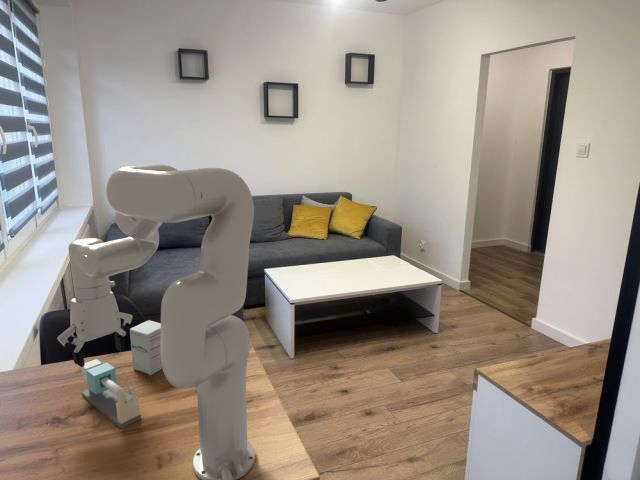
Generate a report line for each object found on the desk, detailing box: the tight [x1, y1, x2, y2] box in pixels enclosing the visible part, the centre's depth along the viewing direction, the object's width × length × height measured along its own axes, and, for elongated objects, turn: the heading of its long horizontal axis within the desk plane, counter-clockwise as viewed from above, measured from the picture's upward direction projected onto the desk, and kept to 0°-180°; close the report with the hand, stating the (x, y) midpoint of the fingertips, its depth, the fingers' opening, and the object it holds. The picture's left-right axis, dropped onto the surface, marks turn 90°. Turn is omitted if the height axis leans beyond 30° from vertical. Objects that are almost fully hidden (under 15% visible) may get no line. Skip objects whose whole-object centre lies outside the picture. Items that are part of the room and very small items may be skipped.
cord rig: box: [80, 358, 142, 429], centre depth 108 cm, size 20×5×8 cm, turn 51°
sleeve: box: [87, 362, 117, 395], centre depth 109 cm, size 4×5×5 cm
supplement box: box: [129, 319, 163, 376], centre depth 126 cm, size 7×7×13 cm
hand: (101, 357), depth 108 cm, fingers open, 9 cm apart
